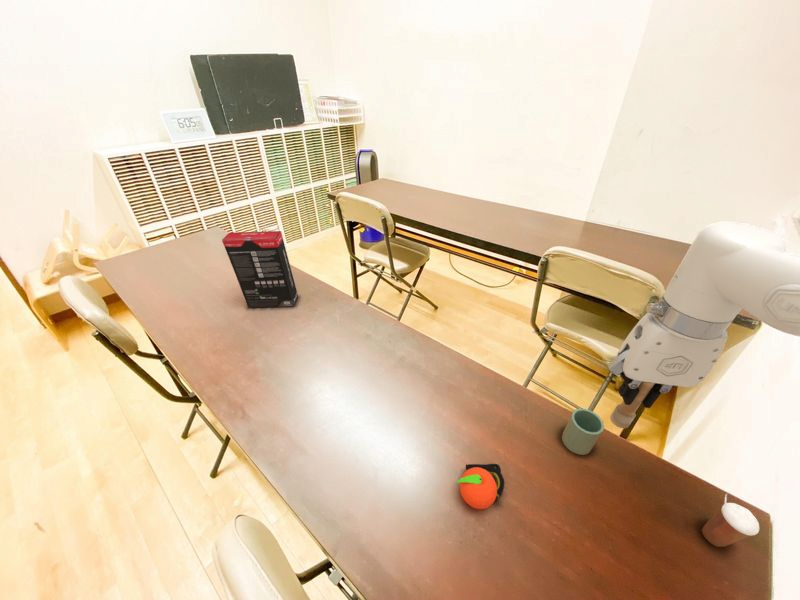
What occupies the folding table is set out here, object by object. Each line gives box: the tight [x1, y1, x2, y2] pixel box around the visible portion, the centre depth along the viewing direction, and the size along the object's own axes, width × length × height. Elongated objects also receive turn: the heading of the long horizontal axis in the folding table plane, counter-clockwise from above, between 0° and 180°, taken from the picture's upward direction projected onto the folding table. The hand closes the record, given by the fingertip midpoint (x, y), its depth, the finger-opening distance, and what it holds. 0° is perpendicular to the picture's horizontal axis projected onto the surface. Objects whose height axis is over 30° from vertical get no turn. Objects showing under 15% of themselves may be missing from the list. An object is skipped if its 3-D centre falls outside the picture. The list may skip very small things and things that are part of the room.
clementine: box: [454, 467, 497, 510], centre depth 61 cm, size 8×7×7 cm
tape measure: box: [465, 463, 505, 502], centre depth 64 cm, size 7×7×4 cm
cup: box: [561, 408, 605, 456], centre depth 69 cm, size 6×6×8 cm
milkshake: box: [701, 493, 760, 548], centre depth 54 cm, size 5×5×10 cm
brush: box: [609, 381, 655, 429], centre depth 54 cm, size 3×3×12 cm
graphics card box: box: [221, 230, 299, 309], centre depth 109 cm, size 17×7×27 cm, turn 92°
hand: (634, 398), depth 54 cm, fingers closed on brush, 2 cm apart
